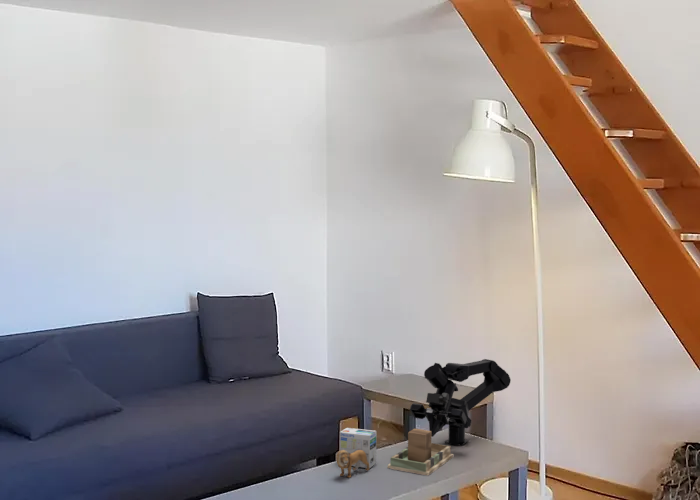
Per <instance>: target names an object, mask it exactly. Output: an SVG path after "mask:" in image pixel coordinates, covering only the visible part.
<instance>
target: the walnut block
mask: <svg viewBox="0 0 700 500" xmlns="http://www.w3.org/2000/svg"><path fill="white" fill-rule="evenodd" d="M432 438H433V437H432V431H430V430H426V429H421V428H420V429H419V428H413V429H411V430H410V431H408V433H407V447H408V460H412V461H418V462H423V463H424V462H425V461H427V460H428V459H430V458H431V443H432Z"/></svg>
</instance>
